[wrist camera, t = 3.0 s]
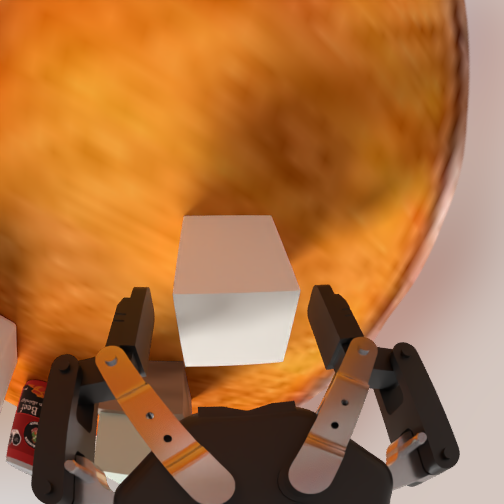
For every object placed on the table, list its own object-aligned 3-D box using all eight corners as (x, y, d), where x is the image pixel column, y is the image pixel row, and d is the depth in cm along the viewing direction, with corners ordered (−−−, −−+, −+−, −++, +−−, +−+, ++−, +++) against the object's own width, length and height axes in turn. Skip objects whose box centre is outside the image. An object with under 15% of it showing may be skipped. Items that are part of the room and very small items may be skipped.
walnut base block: (103, 356, 21) (93, 407, 17) (183, 359, 22) (182, 414, 18) (124, 395, 25) (120, 438, 21) (191, 398, 26) (192, 442, 22)
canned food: (81, 393, 24) (67, 484, 15) (80, 416, 28) (72, 490, 19) (20, 369, 21) (-3, 455, 12) (29, 396, 25) (14, 468, 16)
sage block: (100, 411, 17) (93, 469, 13) (175, 417, 18) (176, 478, 14) (123, 437, 21) (121, 484, 16) (186, 441, 21) (188, 490, 17)
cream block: (183, 215, 15) (172, 294, 10) (270, 215, 15) (300, 290, 11) (188, 283, 17) (185, 366, 12) (263, 281, 18) (283, 361, 13)
